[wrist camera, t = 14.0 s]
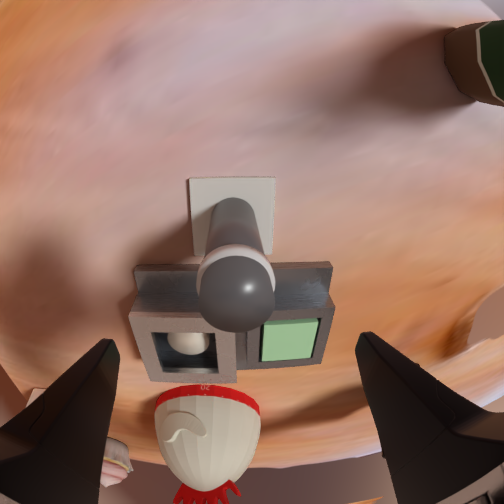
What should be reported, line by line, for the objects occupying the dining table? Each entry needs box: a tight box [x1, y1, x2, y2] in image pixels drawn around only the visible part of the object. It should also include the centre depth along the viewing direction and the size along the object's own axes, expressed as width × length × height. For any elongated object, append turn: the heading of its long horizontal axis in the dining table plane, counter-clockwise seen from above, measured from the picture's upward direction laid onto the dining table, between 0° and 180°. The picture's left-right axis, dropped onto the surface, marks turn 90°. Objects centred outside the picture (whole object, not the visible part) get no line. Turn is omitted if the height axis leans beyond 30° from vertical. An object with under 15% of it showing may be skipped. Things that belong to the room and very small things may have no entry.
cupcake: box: [100, 437, 133, 487], centre depth 34 cm, size 9×9×10 cm
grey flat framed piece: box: [128, 262, 335, 383], centre depth 24 cm, size 12×16×4 cm
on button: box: [260, 318, 318, 361], centre depth 24 cm, size 4×4×2 cm
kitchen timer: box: [155, 385, 261, 504], centre depth 26 cm, size 14×14×15 cm
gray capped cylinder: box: [196, 197, 275, 333], centre depth 16 cm, size 4×4×10 cm
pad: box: [189, 177, 276, 256], centre depth 21 cm, size 6×6×1 cm
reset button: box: [167, 333, 210, 355], centre depth 24 cm, size 4×4×1 cm
